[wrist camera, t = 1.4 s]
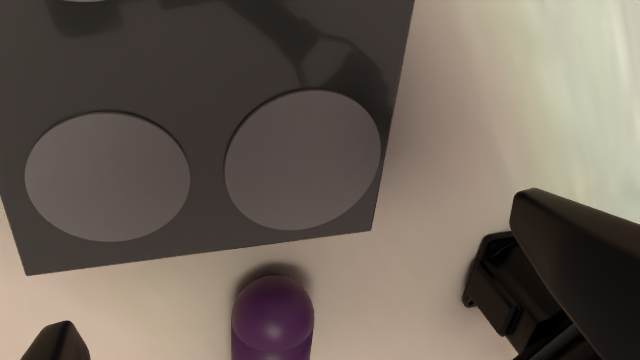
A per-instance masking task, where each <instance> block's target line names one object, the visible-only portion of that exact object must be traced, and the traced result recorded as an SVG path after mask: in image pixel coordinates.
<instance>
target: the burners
mask: <svg viewBox="0 0 640 360" xmlns="http://www.w3.org/2000/svg"><path fill="white" fill-rule="evenodd" d="M64 1H74V2H96V1H103V0H64ZM380 154H381V143H380V137H379V133H378V130H377V127H376V125H375V123H374V121H373V119H372V118H371V116H370V115H369V114H368V112H367V111H366V110H365V109H364V108H363V107H362V106H361V105H360V104H359V103H357V102H356V101H354V100H353V99H351V98H349V97H347V96H345V95H343V94H341V93H337V92H334V91H329V90H323V89H307V90H299V91H294V92H290V93H287V94H284V95H281V96H279V97H276V98H274V99H272V100H270V101H268V102H267V103H265V104H264V105H262V106H261V107H259V108H258V109H257V110H255V111H254V112H253V113H252V114H251V115H249V116H248V118H247V119H246V120H245V121H244V122H243V123H242V124H241V125H240V127H239V128H238V130H237V131H236V132H235V134H234V136H233V138H232V140H231V142H230V144H229V147H228V149H227V152H226V157H225V162H224V177H225V183H226V187H227V191H228V193H229V195H230V198H231V200H232V201H233V203H234V204H235V206H236V207H237V208H238V209H239V210H240V211H241V212H242V213H243V214H244V215H245V216H246V217H248V218H249V219H251V220H252V221H254V222H256V223H258V224H260V225H263V226H265V227H269V228H273V229H279V230H301V229H307V228H311V227H315V226H318V225H321V224H324V223H326V222H329V221H331V220H333V219H334V218H336V217H338V216H340V215H341V214H343V213H344V212H346V211H347V210H348V209H349V208H351V207H352V206H353V205H354V204H355V203H356V202H357V201H358V200H359V199H360V198H361V197H362V196H363V194H364V193H365V192H366V190H367V189H368V187H369V186H370V184H371V182H372V181H373V179H374V177H375V174H376V172H377V169H378V165H379V161H380ZM25 185H26V190H27V192H28V195H29V198H30V200H31V201H32V203H33V205H34V207H35V208H36V209H37V210H38V212H39V213H40V214H41V215H42V216H43V217H44V218H45V219H46V220H47V221H49V222H50V223H51V224H53V225H54V226H55V227H57V228H59V229H61V230H62V231H64V232H66V233H69V234H71V235H74V236H77V237H80V238H83V239H88V240H93V241H101V242H116V241H126V240H132V239H135V238H139V237H142V236H145V235H148V234H150V233H152V232H154V231H156V230H158V229H159V228H161V227H163V226H164V225H166V224H167V223H168V222H169V221H170V220H172V219H173V218H174V216H175V215H176V214H177V213H178V212H179V211H180V209H181V208H182V206H183V204H184V203H185V201H186V198H187V196H188V193H189V188H190V170H189V165H188V162H187V158H186V156H185V154H184V152H183V150H182V149H181V147H180V146H179V144H178V143H177V142H176V141H175V140H174V139H173V138H172V136H170V135H169V134H168V133H167V132H166V131H165V130H163V129H162V128H160V127H159V126H157V125H156V124H154V123H152V122H150V121H147V120H145V119H143V118H140V117H137V116H134V115H129V114H125V113H118V112H93V113H87V114H82V115H78V116H75V117H72V118H69V119H66V120H64V121H62V122H60V123H58V124H57V125H55V126H54V127H52V128H51V129H49V130H48V131H47V132H46V133H45V134H43V135H42V136H41V137H40V139H39V140H38V141H37V142H36V143H35V145H34V147H33V148H32V150H31V152H30V154H29V157H28V160H27V163H26V168H25Z"/></svg>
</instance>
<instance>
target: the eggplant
mask: <svg viewBox="0 0 640 360" xmlns="http://www.w3.org/2000/svg"><path fill="white" fill-rule="evenodd" d="M313 328H314V309H313V305H312V302H311V299H310V297H309V295H308V294H307V292H306V291H305V290H304V289H303V287H302V286H301V285H299V284H298V283H297V282H295V281H293V280H292V279H290V278H287V277H284V276H279V275H270V276H264V277H261V278H258V279H256V280H254V281H253V282H251V283H249V284H248V285H247V286H246V287H245V288H244V289H243V290H242V291H241V292H240V294H239V295H238V297H237V299H236V301H235V303H234V306H233V310H232V316H231V349H232V360H310V352H311V344H312V336H313Z"/></svg>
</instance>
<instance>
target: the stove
mask: <svg viewBox="0 0 640 360" xmlns="http://www.w3.org/2000/svg"><path fill="white" fill-rule="evenodd" d="M414 2H415V0H103V1H96V2H74V1H64V0H0V197H1V200H2V203H3V206H4V209H5V212H6V215H7V218H8V221H9V225H10V228H11V231H12V234H13V237H14V240H15V243H16V246H17V249H18V253H19V256H20V259H21V262H22V265H23V268H24V271H25V274H26V276H32V275H40V274H47V273H55V272H62V271H70V270H77V269H85V268H93V267H100V266H108V265H115V264H123V263H131V262H138V261H146V260H153V259H161V258H169V257H176V256H184V255H191V254H199V253H207V252H214V251H222V250H229V249H237V248H244V247H252V246H260V245H267V244H275V243H282V242H290V241H298V240H305V239H313V238H320V237H328V236H336V235H343V234H351V233H358V232H366V231H371V229H372V223H373V218H374V213H375V207H376V202H377V197H378V192H379V186H380V181H381V176H382V170H383V165H384V160H385V155H386V149H387V144H388V139H389V134H390V128H391V123H392V118H393V112H394V107H395V102H396V97H397V91H398V86H399V81H400V75H401V70H402V65H403V60H404V54H405V49H406V44H407V39H408V33H409V28H410V23H411V17H412V12H413V7H414ZM307 89H323V90H329V91H334V92H337V93H341V94H343V95H345V96H347V97H349V98H351V99H353V100H354V101H356V102H357V103H359V104H360V105H361V106H362V107H363V108H364V109H365V110H366V111H367V112H368V114H369V115H370V116H371V118H372V119H373V121H374V123H375V125H376V127H377V130H378V133H379V137H380V143H381V154H380V161H379V165H378V169H377V172H376V174H375V177H374V179H373V181H372V182H371V184H370V186H369V187H368V189H367V190H366V192H365V193H364V194H363V196H362V197H361V198H360V199H359V200H358V201H357V202H356V203H355V204H354V205H353V206H352V207H351V208H349V209H348V210H347V211H346V212H344V213H343V214H341V215H340V216H338V217H336V218H334V219H333V220H331V221H329V222H326V223H324V224H321V225H318V226H315V227H311V228H307V229H301V230H279V229H273V228H269V227H265V226H263V225H260V224H258V223H256V222H254V221H252V220H251V219H249V218H248V217H246V216H245V215H244V214H243V213H242V212H241V211H240V210H239V209H238V208H237V207H236V206H235V204H234V203H233V201H232V200H231V198H230V195H229V193H228V191H227V187H226V183H225V177H224V162H225V157H226V152H227V149H228V147H229V144H230V142H231V140H232V138H233V136H234V134H235V132H236V131H237V130H238V128H239V127H240V125H241V124H242V123H243V122H244V121H245V120H246V119H247V118H248V116H249V115H251V114H252V113H253V112H254V111H255V110H257V109H258V108H259V107H261V106H262V105H264V104H265V103H267V102H268V101H270V100H272V99H274V98H276V97H279V96H281V95H284V94H287V93H290V92H294V91H299V90H307ZM93 112H118V113H125V114H129V115H134V116H137V117H140V118H143V119H145V120H147V121H150V122H152V123H154V124H156V125H157V126H159V127H160V128H162V129H163V130H165V131H166V132H167V133H168V134H169V135H170V136H172V138H173V139H174V140H175V141H176V142H177V143H178V144H179V146H180V147H181V149H182V150H183V152H184V154H185V156H186V158H187V162H188V165H189V170H190V188H189V193H188V196H187V198H186V201H185V203H184V204H183V206H182V208H181V209H180V211H179V212H178V213H177V214H176V215H175V216H174V218H173V219H172V220H170V221H169V222H168V223H167V224H166V225H164V226H163V227H161V228H159V229H158V230H156V231H154V232H152V233H150V234H148V235H145V236H142V237H139V238H135V239H132V240H126V241H116V242H101V241H93V240H88V239H83V238H80V237H77V236H74V235H71V234H69V233H66V232H64V231H62V230H61V229H59V228H57V227H55V226H54V225H53V224H51V223H50V222H49V221H47V220H46V219H45V218H44V217H43V216H42V215H41V214H40V213H39V212H38V210H37V209H36V208H35V207H34V205H33V203H32V201H31V200H30V198H29V195H28V192H27V190H26V185H25V168H26V163H27V160H28V157H29V154H30V152H31V150H32V148H33V147H34V145H35V143H36V142H37V141H38V140H39V139H40V137H41V136H42V135H43V134H45V133H46V132H47V131H48V130H49V129H51V128H52V127H54V126H55V125H57V124H58V123H60V122H62V121H64V120H66V119H69V118H72V117H75V116H78V115H82V114H87V113H93Z"/></svg>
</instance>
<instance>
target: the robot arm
mask: <svg viewBox="0 0 640 360" xmlns="http://www.w3.org/2000/svg"><path fill="white" fill-rule="evenodd" d="M509 223H510V229H511V231H512V232H510V233H503V234H497V235H491V236H488V237H486V238H485V239H484V241H483V243H482V246H481V249H480V251H479V254H478V257H477V260H476V263H475V266H474V268H473V271H472V274H471V277H470V280H469V283H468V285H467V288H466V291H465V294H464V297H463V300H462V302H463V304H464V305H465V307H467V308H470V307H475V306H478V308H479V309H480V310H481V312H482V313H483V314H484V316H485V317H486V318H487V320H488V321H489V322H490V324H491V325H492V326H493V328H494V329H495V330H496V332H497V333H498V334H499V335H500V336H501V337H504V336H505V337H506V338H507V339H508V341H509V342H510V343H511V344H512V346H513V347H514V348H515V350H516V351H517V352H518V354H519V355H517V356H516V357H515V358H514V359H513V360H640V224H637V223H634V222H631V221H628V220H626V219H623V218H620V217H617V216H614V215H611V214H609V213H606V212H603V211H600V210H597V209H594V208H591V207H589V206H586V205H583V204H580V203H577V202H574V201H572V200H569V199H566V198H563V197H560V196H557V195H555V194H552V193H549V192H546V191H543V190H540V189H537V188H530V189H526V190H523V191H519V192H517V193H516V195H515V196H514V199H513V204H512V210H511V215H510V221H509ZM20 360H91V359H90V354H89V350H88V348H87V346H86V344H85V342H84V341H83V339H82V337H81V336H80V334H79V332H78V331H77V329H76V328H75V326H74V324H73V323H72V322H71V321H62V322H59V323H55V324H52V325H48V326H46V327H44V328H43V329H42V330H41V332H40V333H39V334H38V336H37V337H36V339H35V340H34V341H33V343H32V344H31V345H30V347H29V348H28V350H27V351H26V352H25V354H24V355H23V357H22V358H21V359H20Z"/></svg>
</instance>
